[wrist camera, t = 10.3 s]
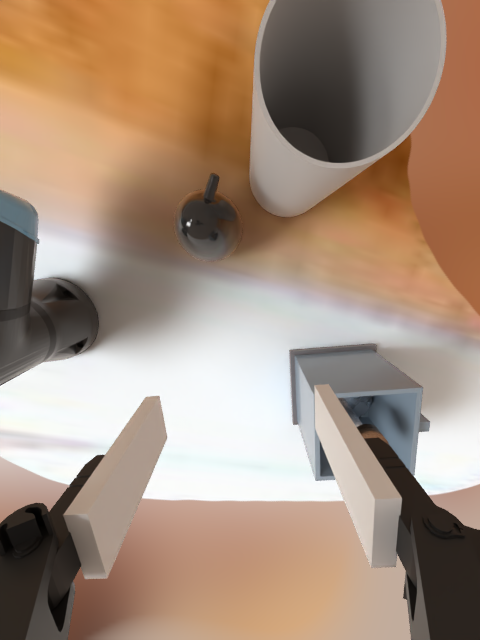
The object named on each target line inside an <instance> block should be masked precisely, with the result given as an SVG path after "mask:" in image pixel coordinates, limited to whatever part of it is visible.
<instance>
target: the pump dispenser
mask: <svg viewBox="0 0 480 640" xmlns="http://www.w3.org/2000/svg"><path fill="white" fill-rule="evenodd" d="M218 182H219V176H218V175H217V174H215V173H211V174H210V177H209V180H208V182H207V185H206V188H205V189H200V190H196V191H193V192H191V193H189V194H187V195H186V196H185V197H184V198H182V200H181V201H180V202H179V203H178V205H177V207H176V209H175V213H174V219H173V225H174V231H175V235H176V238H177V240H178V242H179V243H180V245H181V246H182V248H183V249H184V250H185V251H186V252H187V253H189V254H190V255H191V256H193V257H195V258H197V259H199V260H202V261H207V262H214V261H219V260H222V259H224V258H226V257H228V256H229V255H231V254H232V253H233V252H234V251H235V249H236V248H237V247H238V245H239V243H240V240H241V237H242V231H243V225H242V219H241V216H240V213H239V211H238V209H237V207H236V206H235V205H234V203H233V202H232V201H231V200H230V199H229V198H227V197H226V196H225V195H223V194H221V193H219V192H217V191H216V190H217V186H218Z"/></svg>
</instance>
